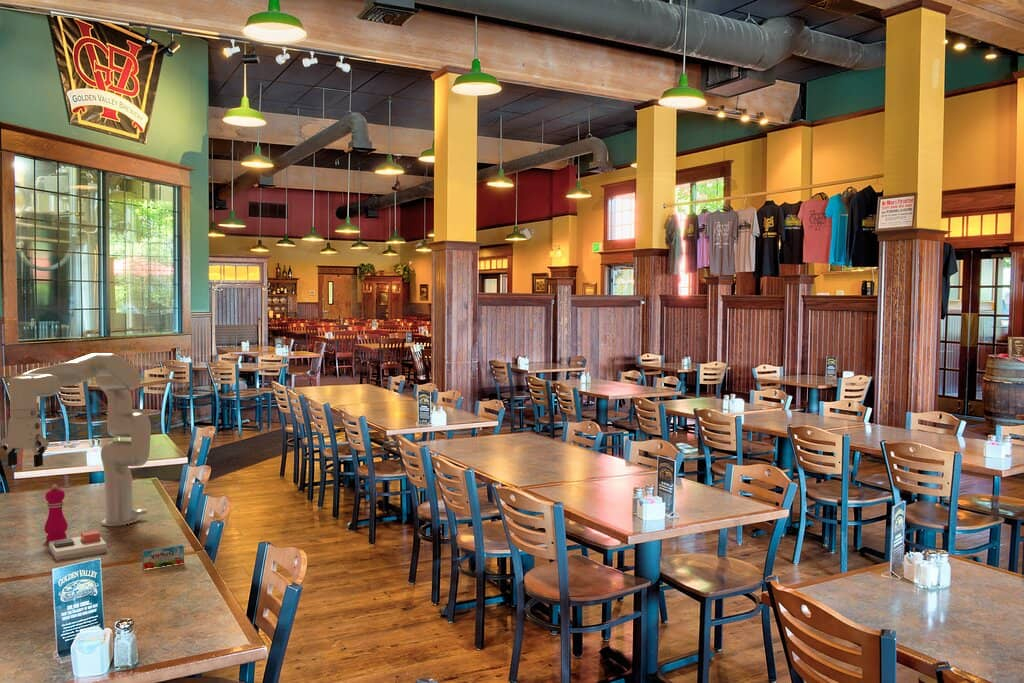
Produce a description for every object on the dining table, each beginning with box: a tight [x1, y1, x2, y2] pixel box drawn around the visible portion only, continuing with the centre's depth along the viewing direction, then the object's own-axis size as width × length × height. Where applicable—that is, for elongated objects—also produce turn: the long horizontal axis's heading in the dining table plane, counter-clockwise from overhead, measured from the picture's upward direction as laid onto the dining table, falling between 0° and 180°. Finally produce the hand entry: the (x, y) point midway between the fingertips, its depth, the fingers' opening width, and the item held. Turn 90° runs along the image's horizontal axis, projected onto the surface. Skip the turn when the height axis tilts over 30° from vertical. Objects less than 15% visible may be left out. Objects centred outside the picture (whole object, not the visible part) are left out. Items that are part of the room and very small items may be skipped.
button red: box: [80, 529, 101, 543], centre depth 276 cm, size 5×5×2 cm
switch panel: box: [48, 535, 108, 561], centre depth 274 cm, size 15×15×3 cm
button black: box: [54, 537, 74, 548], centre depth 271 cm, size 5×5×2 cm
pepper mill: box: [44, 483, 69, 543], centre depth 287 cm, size 7×7×20 cm
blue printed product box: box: [141, 544, 185, 570], centre depth 256 cm, size 12×2×6 cm, turn 120°
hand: (25, 465), depth 265 cm, fingers open, 9 cm apart
